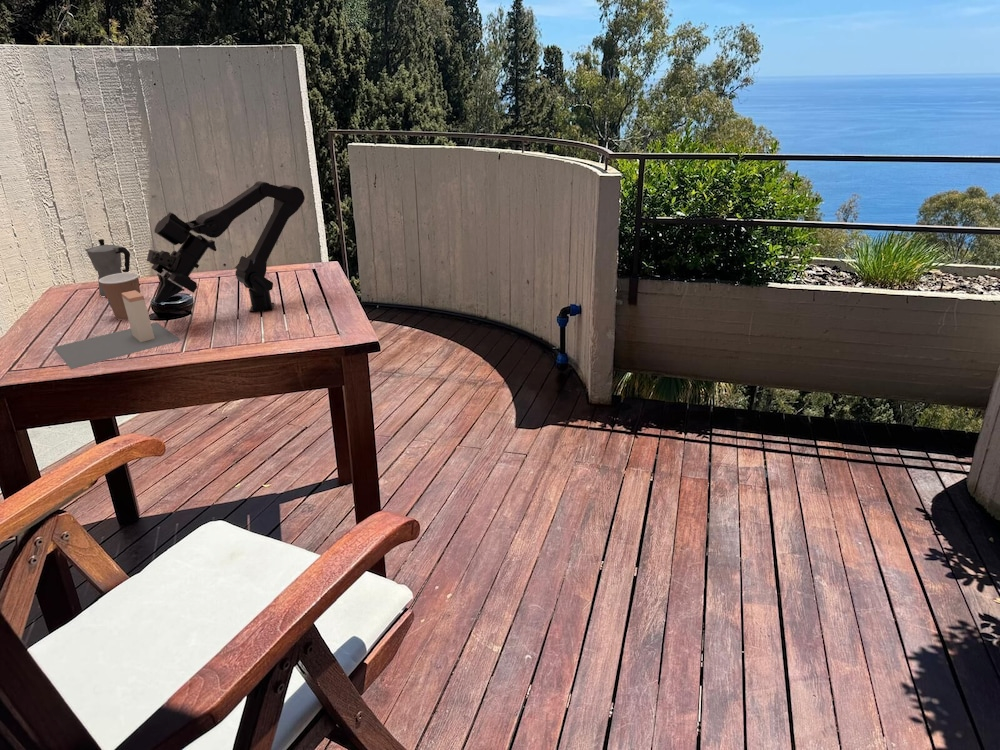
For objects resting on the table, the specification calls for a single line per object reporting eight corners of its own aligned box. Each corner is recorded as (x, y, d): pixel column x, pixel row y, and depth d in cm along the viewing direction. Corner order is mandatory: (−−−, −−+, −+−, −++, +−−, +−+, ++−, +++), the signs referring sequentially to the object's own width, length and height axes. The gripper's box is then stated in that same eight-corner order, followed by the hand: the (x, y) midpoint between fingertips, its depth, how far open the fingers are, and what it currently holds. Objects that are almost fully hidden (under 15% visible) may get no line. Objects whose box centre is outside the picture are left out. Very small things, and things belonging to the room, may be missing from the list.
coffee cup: (126, 310, 202) (116, 271, 197) (156, 311, 200) (146, 272, 195) (102, 322, 193) (90, 282, 188) (132, 323, 191) (121, 283, 186)
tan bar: (146, 332, 183) (135, 290, 178) (154, 338, 179) (143, 295, 174) (132, 335, 181) (121, 293, 176) (140, 342, 176) (129, 298, 171)
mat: (157, 323, 191) (156, 322, 191) (181, 341, 177) (181, 340, 177) (53, 348, 175) (52, 347, 175) (71, 370, 161) (70, 369, 161)
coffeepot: (87, 297, 215) (71, 242, 208) (108, 289, 224) (93, 235, 216) (130, 299, 213) (115, 243, 205) (149, 290, 221) (135, 236, 214)
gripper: (151, 232, 182) (117, 280, 180) (174, 243, 169) (138, 294, 167) (187, 255, 190) (155, 301, 188) (211, 267, 177) (178, 316, 175)
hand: (156, 303), depth 179 cm, fingers closed
